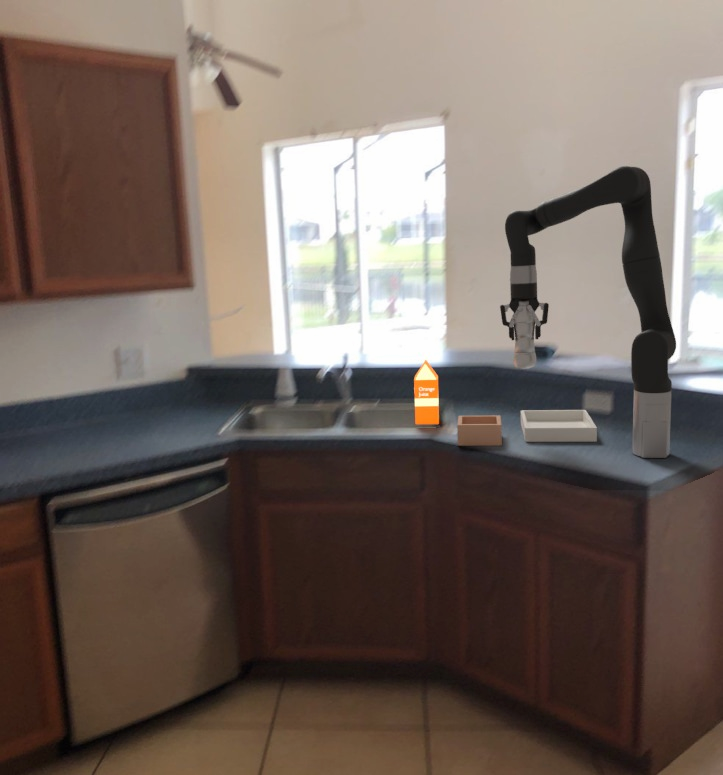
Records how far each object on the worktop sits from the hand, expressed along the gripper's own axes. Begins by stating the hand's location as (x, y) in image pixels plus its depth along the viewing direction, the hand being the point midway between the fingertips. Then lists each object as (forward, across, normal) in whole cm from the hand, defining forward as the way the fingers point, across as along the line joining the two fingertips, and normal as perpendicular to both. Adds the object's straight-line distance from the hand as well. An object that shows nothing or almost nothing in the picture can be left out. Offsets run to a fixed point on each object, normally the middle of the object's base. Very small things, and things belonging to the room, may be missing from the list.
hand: (524, 339), depth 224 cm
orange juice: (+28, -31, +21) cm, 46 cm away
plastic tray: (+29, +9, +5) cm, 31 cm away
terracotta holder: (+29, -14, -5) cm, 32 cm away
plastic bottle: (+9, 0, 0) cm, 9 cm away
